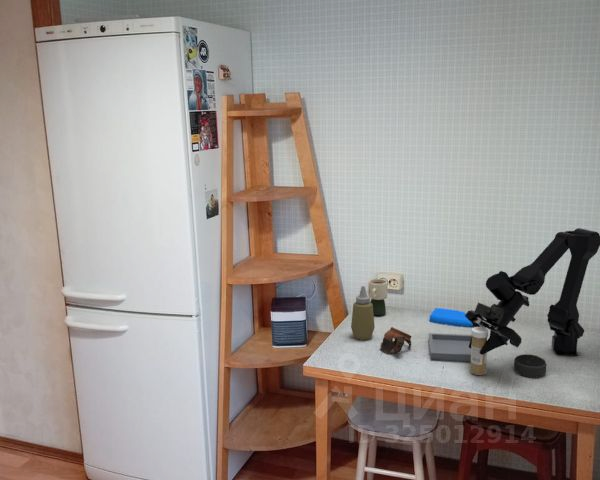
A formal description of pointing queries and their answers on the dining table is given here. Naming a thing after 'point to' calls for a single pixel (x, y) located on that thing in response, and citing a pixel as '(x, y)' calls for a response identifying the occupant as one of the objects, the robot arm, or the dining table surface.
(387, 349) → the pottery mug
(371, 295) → the character mug
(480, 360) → the sprinkles bottle
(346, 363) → the dining table surface
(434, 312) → the spray bottle
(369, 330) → the squeeze bottle
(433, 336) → the tray
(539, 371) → the smart speaker
